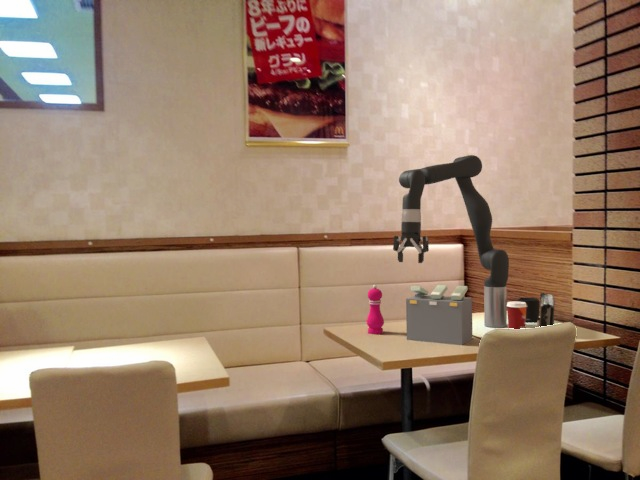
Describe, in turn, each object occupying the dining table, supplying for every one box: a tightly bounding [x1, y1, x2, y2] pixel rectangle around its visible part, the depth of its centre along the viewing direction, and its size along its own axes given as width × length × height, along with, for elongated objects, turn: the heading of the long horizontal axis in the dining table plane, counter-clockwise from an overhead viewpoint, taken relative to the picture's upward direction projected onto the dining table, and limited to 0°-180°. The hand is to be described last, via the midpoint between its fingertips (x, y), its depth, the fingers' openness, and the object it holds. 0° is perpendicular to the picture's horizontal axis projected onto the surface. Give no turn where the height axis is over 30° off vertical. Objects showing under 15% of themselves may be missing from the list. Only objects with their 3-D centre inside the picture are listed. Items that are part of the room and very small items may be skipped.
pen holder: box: [517, 297, 541, 323], centre depth 260 cm, size 9×9×10 cm
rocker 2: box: [429, 284, 448, 299], centre depth 224 cm, size 9×4×2 cm, turn 149°
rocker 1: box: [410, 285, 429, 295], centre depth 229 cm, size 9×4×2 cm, turn 148°
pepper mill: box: [366, 284, 385, 335], centre depth 240 cm, size 7×7×20 cm
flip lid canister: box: [506, 301, 527, 329], centre depth 223 cm, size 8×8×14 cm
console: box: [405, 293, 473, 346], centre depth 225 cm, size 13×22×17 cm, turn 58°
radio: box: [536, 292, 556, 328], centre depth 234 cm, size 23×9×15 cm, turn 151°
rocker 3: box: [449, 285, 468, 300], centre depth 220 cm, size 9×4×2 cm, turn 148°
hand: (410, 262), depth 226 cm, fingers open, 8 cm apart
